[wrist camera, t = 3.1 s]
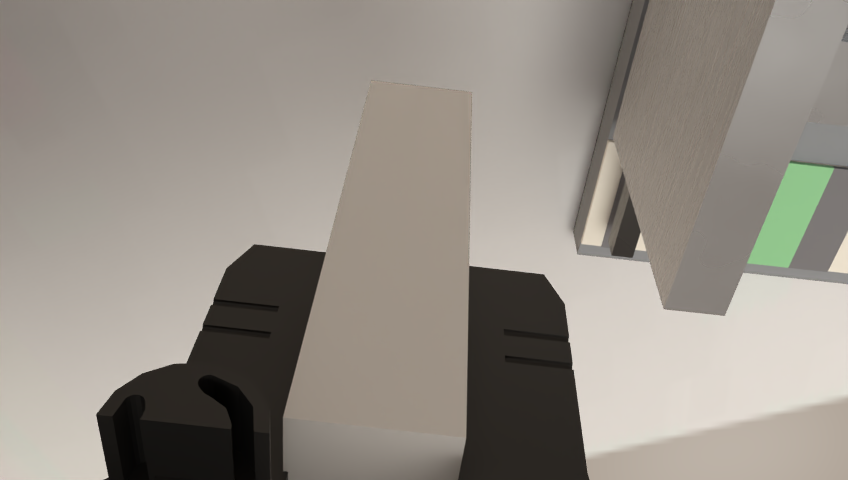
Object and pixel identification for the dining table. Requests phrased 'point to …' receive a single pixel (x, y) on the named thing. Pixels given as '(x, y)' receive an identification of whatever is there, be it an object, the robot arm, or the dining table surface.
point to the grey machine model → (719, 132)
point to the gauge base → (789, 213)
